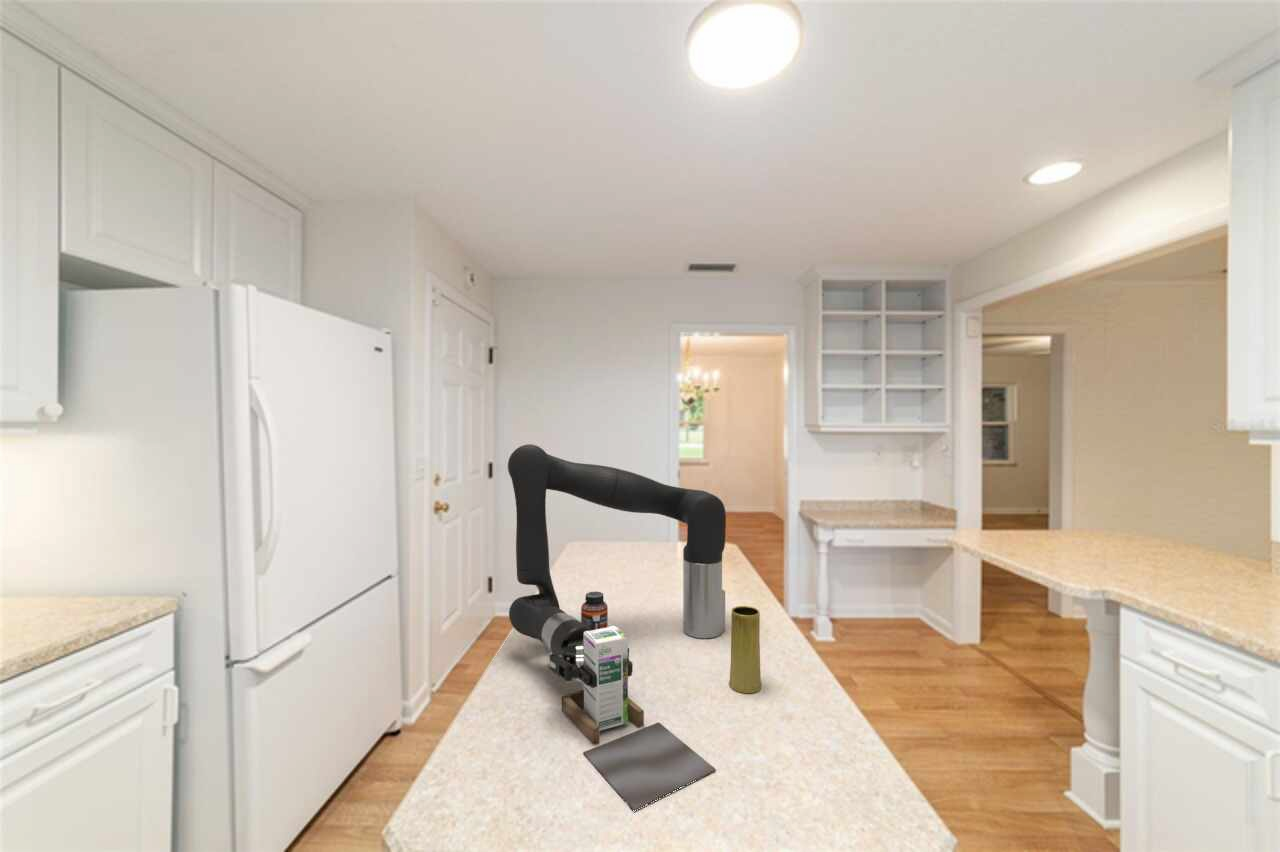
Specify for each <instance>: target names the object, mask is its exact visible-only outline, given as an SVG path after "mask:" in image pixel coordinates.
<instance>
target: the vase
mask: <svg viewBox="0 0 1280 852" xmlns="http://www.w3.org/2000/svg"><path fill="white" fill-rule="evenodd" d="M760 613H761V612H760V610H759V609H758V608H756V607H753V606H749V605H739V606H735V607H732V609H731V617H730V619H731V623H730V624H731V628H730V629H731V630H730V631H731V633H730V669H729V670H730V672H729V674H730V675H729V681H728V684H729V687H730V688H731V689H732V690H734V691H736V692H739V693H741V694H754V693H758V692H759V691H760V690H761V689H762V687H763V685H762V677H761V643H760V635H761V634H760V632H761V631H760V630H761V629H760V625H761V623H760V620H761V619H760V617H761V615H760Z"/></svg>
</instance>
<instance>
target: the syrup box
mask: <svg viewBox="0 0 1280 852" xmlns="http://www.w3.org/2000/svg"><path fill="white" fill-rule="evenodd" d="M628 644H629V641H628V636H627V635H626V634H625V633H624V632H623V631H622V629H620V628H619V627H616V626H615V625H611V626H607V628H602V629H597V630H592V631H585V632H584V666H585V665H587V666H588V667H589V668H590V669H591V670H592V671H594V672H595V673H596V675H597V687H594V688H591V687H590V686H587V685H585V684H584V683H583V689H584V706H583V711H584V712H585V713H586V714H587V715H588V716H589V717H590V718H591V719H592V720H593V721H594V722H595V723H596V724H597V725H598V726H599V733H600V732H601V731H604V730H608V729H611V728H615V727H618V726H622V725H626V724H627V725H628V723H629V718H628V698H629V690H628V689H629V686H628V685H629V677H628V648H629V647H628Z"/></svg>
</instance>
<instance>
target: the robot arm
mask: <svg viewBox="0 0 1280 852" xmlns="http://www.w3.org/2000/svg"><path fill="white" fill-rule="evenodd" d="M507 471H508V474H509V476H510V479H511V483H512V488H513V492H514V498H515V507H516V508H515V509H516V531H515V532H516V533H515V542H516V543H515V557H516V558H515V560H516V561H515V563H516V579H517V581H518V583H520V584H521V585H525V586H536V588H537V589H538V593H537V594H530V595H525V596H520V597H517V598H516V599H515V600H514V601H512V603H511V605H510V606H509V611H508V617H509V618H508V619H509V622H510V625H511V626H512V628H513V629H514V630H515V631H516V632H518V633H520V634H521V635H524V636H526V637H529V638H531V639H536V640H538V641H540V642H541V643H542V644H543V645H544V646H545V648H546V649H547V650H548V651H549V652H550V654H549V655H548V656H549V662H548V663H549V665H548V666H549V671H551V673H554V674H555V675H556V676H557V677H559V678H561V679H562V680H563V681H565V682H568V683H569V682H571V681H572V680H573V679H575V680H577V681H581V682H582V683H583V685H584V684H585V685H587V686H590V687H591V688H594V687H597V675H596V673H595V672H594V671H592V670H591V669H590V668H589V667H588V666H587V665H585V666H584V632H585V631H592V630H591V629H589V628H588V627H587V626H585V625H584V624H583V623H581V620H579V619H578V618H576V617H574V616H572V615H570V614H568V613H566V611H564V610H563V609H561V607H560V603H559V599H558V597H557V594H556V590H555V587H554V585H553V584H554V583H553V581H552V577H551V571H550V552H549V551H550V549H549V537H548V527H547V516H546V515H547V514H546V511H547V510H546V506H547V505H546V504H547V503H546V501H547V500H546V498H547V497H546V496H547V490H551V491H557V492H561V493H565V494H568V495H571V496H574V497H576V498H579V499H581V500H584V501H586V502H589V503H592V504H596V505H599V506H602V507H605V508H609V509H614V510H618V511H621V512H628V513H638V514H656V515H660V516H664V517H667V518H671V519H674V520H676V521H679V522H682V523H684V524H686V525H687V530H686V531H687V534H686V535H687V536H686V538H687V539H686V545H684V547H683V550H682V551H683V552H682V554H683V557H682V559H683V561H682V562H683V563H682V564H683V565H682V567H683V568H682V569H683V573H682V575H683V576H682V577H683V579H682V581H683V584H682V585H683V586H682V588H683V590H682V591H683V595H682V597H683V598H682V599H683V601H682V602H683V604H682V605H683V606H682V607H683V609H682V610H683V611H682V612H683V613H682V614H683V617H682V618H683V620H682V623H683V626H682V629H683V633H684V634H686V635H688V636H690V637H691V638H698V639H712V638H716V637H719V636H720V635H721V634H722V633H723V632H725V631H726V590H724V589H723V554H724V550H725V548H726V547H725V546H726V533H727V532H726V529H727V528H726V527H727V525H726V524H727V515H726V508H725V505H724V502H723V501H722V500H721V499H720V498H719V497H718V496H717V495H714V494H712V493H710V492H709V491H705V490H702V489H701V490H699V489H691V488H683V487H677V486H672V485H668V484H664V483H662V482H658V481H657V480H654V479H652V478H650V477H647V476H644V475H641V474H638V473H635V472H632V471H628V470H624V469H621V468H616V467H613V466H607V465H600V464H591V463H582V462H581V463H578V462H575V461H574V462H573V461H569V460H566V459H563V458H560V457H556V456H554V455H550V454H548V453H547V452H546V451H545V450H544V449H543V448H541V447H540V446H538V445H535V444H530V443H529V444H524V445H521V446H519V447H517V448H516V449H515V450H514V451H513V452H512V453H511V454H510V456H509V458H508V461H507ZM633 665H634V664H633V662H632V661H631V660H630V648H629V647H628V678H629V677H631V676H633V673H634V672H633V670H634V669H633V667H634V666H633Z"/></svg>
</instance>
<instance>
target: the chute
mask: <svg viewBox="0 0 1280 852" xmlns="http://www.w3.org/2000/svg"><path fill="white" fill-rule="evenodd" d="M582 708H584V688H583V689H580V690H578V691H574V692H572V693H568V694H565V695H562V696H561V712H562V714H564V716H566V717H567V718H568V719H569V721H570V722H571V723H572V724H573V725H574V726H575V727H576V728H577V729H578V730H579V732H580V733H582V734H583V736H584V737H585V738H586V739H587V740H588V741H589V742H590V743H591V744H592V745H593V746H594V747H592V748H590V749H588V750H585V751H583V755H584V757H585V758H586V759H587V760H588V762H590V763H591V765H592V766H593V767H594V768H595V770H597V772H598V773H599V774H600V775H601V776H602V777H603V779H604V780H605V781H606V782H607V783H608V784H609V785H610V786H611V788H612V787H613V788H612V789H613V790H614V792H616V794H617V795H620V796H621V797H622V798H623V799H624V800H623V799H622V798H621V797H620V796H619V797H620V798H621V799H622V800H623V801H624V803H626V802H627V804H628V805H629V806H630V807H631V808H632V809H633V810H634V811H635V810H637V809H639V808H641V807H643V806H645V805H646V804H649V803H651V802H653V801H655V800H657V799H659V798H662V797H663V796H666V795H667V794H669V793H672V792H673V791H675V790H677V789H679V788H680V787H683V786H686V785H687V784H689V783H691V782H693V781H695V780H698V779H700V778H702V777H704V776H706V777H708V776H709V775H708V774H710V773H712V772H714V771H716V772H717V769H716V768H715V767H714V766H713V765H712V764H710V763H709V762H708V761H707V760H705V759H704V758H703V757H701V756H700V755H699V754H698V753H697V752H695V750H694V749H692V748H691V747H690V746H689V745H687V744H686V743H685V742H683V741H682V740H681V739H680V738H679V737H677V736H676V735H675V734H674V733H673V732H671V730H669V729H668V728H666V727H665V726H664V725H663V724H662V723H661V722H655V723H652V724H650V725H648V726H645V724H644V723H645V713H644V712H645V711H644V709H643V708H642V707H641V706H640V705H638V704H637V703H635V702H634V700H632V699H631V698H630V697H628V720H630V721H631V722H632V723H633V724H634V725H635V726H637V727H638V728H641V727H643V726H645V727H643V728H641V729H638V730H635V731H632V732H630V733H628V734H625V735H623V736H620V737H618V738H615V739H612V740H611V741H608V742H605V743H603V744H600V732H599V726H598V725H597V724H596V723H595V722H594V721H593V720H592V719H591V718H590V717H589V716H588V715H587V714H586V713H585V712H584V709H582ZM598 744H600V745H598ZM595 745H597V746H595ZM714 773H715V772H714ZM712 774H713V773H712ZM707 775H708V776H707ZM710 775H711V774H710ZM704 778H705V777H704ZM702 779H703V778H702ZM700 780H701V779H700ZM698 781H699V780H698ZM686 787H687V786H686ZM672 794H673V793H672ZM666 797H667V796H666ZM662 799H663V798H662ZM627 804H626V805H627ZM628 805H627V806H628ZM629 806H628V807H629ZM630 807H629V808H630ZM631 808H630V809H631ZM632 809H631V810H632ZM633 810H632V811H633Z"/></svg>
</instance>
